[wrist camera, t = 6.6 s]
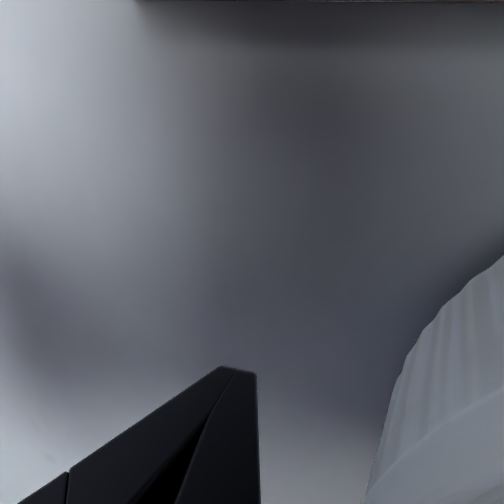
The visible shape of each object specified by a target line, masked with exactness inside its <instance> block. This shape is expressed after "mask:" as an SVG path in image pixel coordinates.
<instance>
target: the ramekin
mask: <svg viewBox="0 0 504 504" xmlns="http://www.w3.org/2000/svg"><path fill="white" fill-rule="evenodd" d="M360 504H504V255H503V256H502V257H501V258H500V259H499V260H497V261H496V262H495V263H494V264H493V265H492V266H491V267H490V268H488V269H487V270H485V271H483V272H482V273H480V274H478V275H477V276H475V277H473V278H472V279H471V280H470V281H469V282H468V283H467V284H466V285H465V286H464V288H463V289H462V290H461V291H460V292H459V293H458V294H457V295H455V296H454V297H453V298H451V299H450V300H449V301H448V302H447V303H446V304H445V305H443V306H442V308H441V309H440V311H439V312H438V314H437V315H436V317H435V318H434V319H433V321H432V322H430V323H429V324H428V325H427V326H426V327H425V328H424V329H423V331H422V332H421V334H420V336H419V338H418V340H417V342H416V344H415V345H414V347H413V348H412V349H411V351H410V352H409V353H408V355H407V357H406V359H405V361H404V365H403V369H402V372H401V373H400V375H399V377H398V378H397V381H396V383H395V386H394V389H393V393H392V396H391V400H390V404H389V408H388V412H387V416H386V419H385V423H384V427H383V431H382V434H381V438H380V442H379V445H378V449H377V453H376V456H375V460H374V464H373V467H372V471H371V475H370V480H369V484H368V488H367V492H366V496H365V498H364V499H363V501H362V502H361V503H360Z"/></svg>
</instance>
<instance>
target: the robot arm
mask: <svg viewBox="0 0 504 504" xmlns="http://www.w3.org/2000/svg"><path fill="white" fill-rule="evenodd" d="M17 504H261V491H260V460H259V429H258V399H257V375H256V373H254V372H250V371H245V370H241V369H236V368H231V367H226V366H220V367H217V368H216V369H215V370H213V371H212V372H210V373H209V374H207V375H206V376H204V377H203V378H201V379H200V380H198V381H197V382H196V383H194V384H193V385H191V386H190V387H188V388H187V389H185V390H184V391H182V392H181V393H179V394H178V395H177V396H175V397H174V398H172V399H171V400H169V401H168V402H166V403H165V404H163V405H162V406H161V407H159V408H158V409H156V410H155V411H153V412H152V413H150V414H149V415H147V416H146V417H144V418H143V419H142V420H140V421H139V422H137V423H136V424H134V425H133V426H131V427H130V428H128V429H127V430H125V431H124V432H123V433H121V434H120V435H118V436H117V437H115V438H114V439H112V440H111V441H109V442H108V443H107V444H105V445H104V446H102V447H101V448H99V449H98V450H96V451H95V452H93V453H92V454H90V455H89V456H88V457H86V458H85V459H83V460H82V461H80V462H79V463H77V464H76V465H74V466H73V467H71V468H70V470H69V473H68V472H64V473H62V474H61V475H59V476H58V477H57V478H55V479H54V480H52V481H51V482H49V483H48V484H46V485H45V486H43V487H42V488H40V489H39V490H37V491H36V492H34V493H33V494H31V495H30V496H28V497H27V498H25V499H23V500H22V501H20V502H19V503H17Z"/></svg>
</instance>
